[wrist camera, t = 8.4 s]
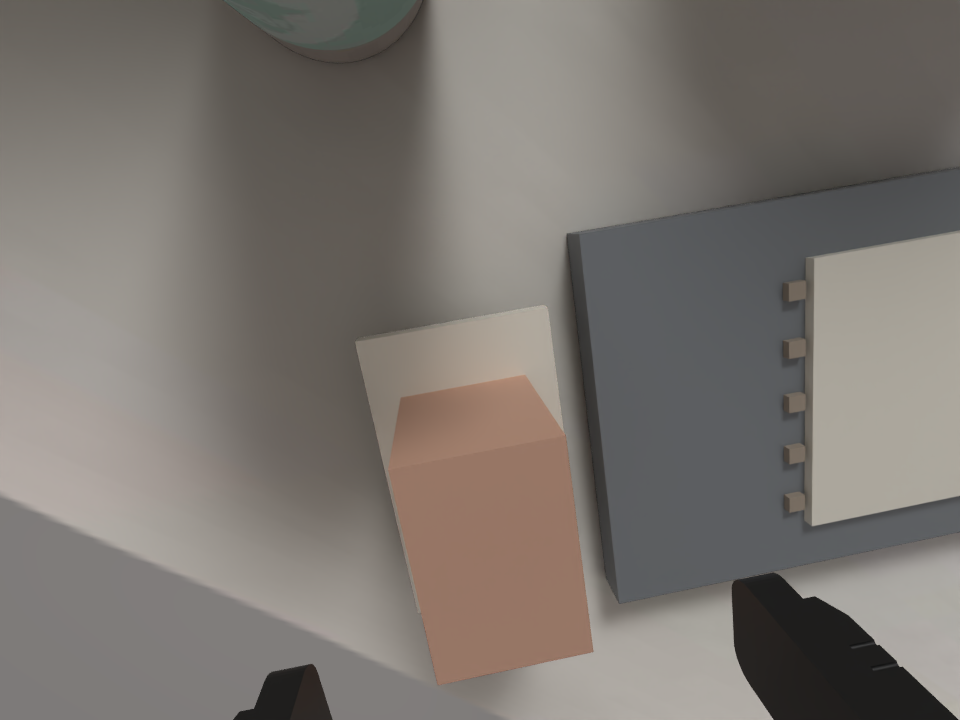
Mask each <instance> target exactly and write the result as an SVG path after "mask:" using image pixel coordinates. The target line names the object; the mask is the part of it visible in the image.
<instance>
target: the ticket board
mask: <svg viewBox="0 0 960 720" xmlns="http://www.w3.org/2000/svg"><path fill="white" fill-rule="evenodd" d="M567 240H568V249H569V258H570V267H571V275H572V284H573V293H574V302H575V310H576V319H577V328H578V337H579V345H580V354H581V363H582V372H583V381H584V389H585V398H586V407H587V416H588V424H589V433H590V442H591V451H592V459H593V468H594V477H595V486H596V494H597V503H598V512H599V521H600V529H601V538H602V547H603V556H604V564H605V573H606V579H607V581H608V583H609V585H610V587H611V589H612V591H613V593H614V595H615V597H616V599H617V601H618V603H619V604H621V603H626V602H631V601H635V600H640V599H645V598H650V597H654V596H659V595H664V594H668V593H673V592H678V591H683V590H687V589H692V588H697V587H702V586H706V585H711V584H716V583H721V582H725V581H730V580H735V579H740V578H744V577H749V576H754V575H759V574H763V573H768V572H773V571H778V570H782V569H787V568H792V567H796V566H801V565H806V564H811V563H815V562H820V561H825V560H830V559H834V558H839V557H844V556H849V555H853V554H858V553H863V552H868V551H872V550H877V549H882V548H887V547H891V546H896V545H901V544H906V543H910V542H915V541H920V540H925V539H929V538H934V537H939V536H943V535H948V534H953V533H958V532H960V167H956V168H950V169H944V170H938V171H932V172H926V173H921V174H915V175H909V176H903V177H897V178H891V179H885V180H880V181H874V182H868V183H862V184H856V185H850V186H844V187H839V188H833V189H827V190H821V191H815V192H809V193H803V194H798V195H792V196H786V197H780V198H774V199H768V200H762V201H757V202H751V203H745V204H739V205H733V206H727V207H721V208H716V209H710V210H704V211H698V212H692V213H686V214H680V215H674V216H669V217H663V218H657V219H651V220H645V221H639V222H633V223H628V224H622V225H616V226H610V227H604V228H598V229H592V230H587V231H581V232H575V233H569V234H567Z"/></svg>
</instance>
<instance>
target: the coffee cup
mask: <svg viewBox="0 0 960 720" xmlns="http://www.w3.org/2000/svg"><path fill="white" fill-rule="evenodd" d="M223 1H225V2H226V3H227V4H229V5H230V6H231V7H233V8H234V9H235V10H236V11H238V12H239V13H240V14H242V15H243V16H244V17H246V18H247V19H248V20H250V21H251V22H252V23H254V24H255V25H256V26H258V27H259V28H260V29H262V30H263V31H265V32H266V33H267V34H269V35H270V36H271V37H273V38H274V39H275V40H277V41H278V42H279V43H281V44H282V45H284V46H285V47H287V48H289V49H290V50H292V51H294V52H296V53H298V54H300V55H303V56H305V57H308V58H311V59H315V60H319V61H324V62H332V63H346V62H354V61H359V60H363V59H366V58H369V57H371V56H374V55H376V54H378V53H380V52H381V51H383V50H385V49H386V48H388V47H389V46H390V45H392V44H393V43H394V42H395V41H396V40H398V39H399V38H400V37H401V36H402V34H403V33H404V32H405V31H406V30H407V28H408V27H409V26H410V24H411V23H412V21H413V20H414V18H415V16H416V15H417V13H418V10H419V8H420V6H421V4H422V1H423V0H223Z"/></svg>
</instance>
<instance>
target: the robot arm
mask: <svg viewBox="0 0 960 720" xmlns="http://www.w3.org/2000/svg"><path fill="white" fill-rule="evenodd" d="M732 607H733V630H734V647H735V652H736V656H737V659H738V662H739V664H740V667H741V669H742V671H743V673H744V676H745V677H746V679H747V681H748V682H749V684H750V686H751V687H752V688H753V690H754V691H755V693H756V694H757V696H758V697H759V699H760V700H761V702H762V703H763V705H764V706H765V708H766V709H767V710H768V712H769V713H770V715H771V716H772V718H773V719H774V720H958V719H957V718H956V717H955V716H954V715H953V714H952V713H951V712H950V711H949V710H948V709H947V708H946V707H945V706H944V705H942V704H941V703H940V702H939V701H938V700H937V699H936V698H935V697H934V696H933V695H932V694H931V693H930V692H929V691H928V690H927V689H926V688H924V687H923V686H922V685H921V684H920V683H919V682H918V681H917V680H916V679H915V678H914V677H913V676H912V675H911V674H910V673H909V672H908V671H906V670H905V669H904V668H903V667H899V666H898V664H897V661H896V660H895V659H894V658H893V657H892V656H891V655H890V654H888V653H887V652H886V651H885V650H884V649H883V648H882V647H881V646H880V645H876V644H875V642H874V639H873V638H872V637H871V636H869V635H868V634H867V633H866V632H865V631H864V630H863V629H862V628H861V627H860V626H859V625H858V624H857V623H856V622H855V621H854V620H853V619H851V618H850V617H849V616H848V615H847V614H845V613H843V612H842V611H840V610H838V609H836V608H834V607H833V606H831V605H829V604H827V603H826V602H824V601H822V600H820V599H819V598H817V597H810V598H805V599H803V598H802V597H801V596H800V595H799V594H798V593H797V592H796V591H795V590H794V589H793V588H792V587H791V586H790V585H789V584H788V583H787V582H786V581H785V580H784V579H783V578H782V577H781V576H779V575H778V574H776V573H769V574H764V575H759V576H754V577H749V578H744V579H739V580H735V581H734V582H733V584H732ZM233 720H332V717H331V714H330V710H329V707H328V704H327V701H326V698H325V694H324V691H323V688H322V685H321V682H320V679H319V675H318V672H317V670H316V668H315V666H314V665H312V664H309V665H304V666H299V667H294V668H289V669H284V670H279V671H274V672H271V673H270V674H269V675H268V676H267V678H266V680H265V682H264V684H263V687H262V689H261V692H260V695H259V697H258V700H257V703H256V705H255V708H254V709H250V710H246V711H240V712H239V713H238V714H237V716H236V717H235V718H234V719H233Z"/></svg>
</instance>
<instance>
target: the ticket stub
mask: <svg viewBox="0 0 960 720" xmlns="http://www.w3.org/2000/svg"><path fill="white" fill-rule="evenodd" d="M355 345H356V349H357V354H358V358H359V362H360V367H361V371H362V375H363V379H364V384H365V388H366V392H367V397H368V401H369V405H370V410H371V414H372V418H373V423H374V427H375V431H376V435H377V440H378V444H379V448H380V453H381V457H382V461H383V466H384V470H385V474H386V478H387V483H388V487H389V491H390V496H391V500H392V504H393V509H394V513H395V517H396V521H397V526H398V530H399V534H400V539H401V543H402V547H403V552H404V556H405V560H406V565H407V569H408V573H409V577H410V582H411V586H412V590H413V595H414V599H415V603H416V608H417V612H418V614H420V613H421V615H422V619H423V623H424V628H425V632H426V636H427V641H428V645H429V649H430V654H431V658H432V662H433V667H434V671H435V675H436V680H437V684H438V685H442V684H447V683H451V682H456V681H461V680H465V679H470V678H474V677H479V676H484V675H488V674H493V673H498V672H502V671H507V670H512V669H516V668H521V667H526V666H530V665H535V664H539V663H544V662H549V661H553V660H558V659H563V658H567V657H572V656H577V655H581V654H586V653H591V652H593V645H592V637H591V629H590V621H589V614H588V606H587V598H586V590H585V582H584V574H583V566H582V559H581V551H580V543H579V535H578V527H577V519H576V512H575V504H574V496H573V488H572V480H571V472H570V464H569V457H568V449H567V441H566V435H565V434H564V429H563V422H562V414H561V406H560V398H559V390H558V383H557V375H556V367H555V359H554V351H553V344H552V336H551V328H550V320H549V313H548V307H546V306H545V305H540V306H535V307H529V308H523V309H518V310H512V311H507V312H501V313H495V314H490V315H484V316H478V317H473V318H467V319H462V320H456V321H450V322H445V323H439V324H433V325H428V326H422V327H417V328H411V329H405V330H400V331H394V332H388V333H383V334H377V335H372V336H366V337H360V338H357V339H356V341H355Z"/></svg>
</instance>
